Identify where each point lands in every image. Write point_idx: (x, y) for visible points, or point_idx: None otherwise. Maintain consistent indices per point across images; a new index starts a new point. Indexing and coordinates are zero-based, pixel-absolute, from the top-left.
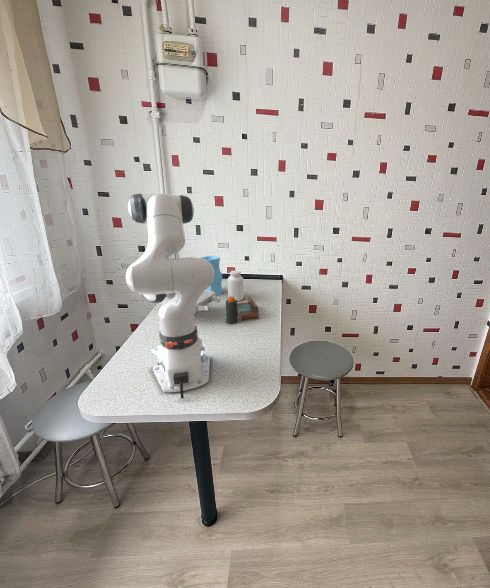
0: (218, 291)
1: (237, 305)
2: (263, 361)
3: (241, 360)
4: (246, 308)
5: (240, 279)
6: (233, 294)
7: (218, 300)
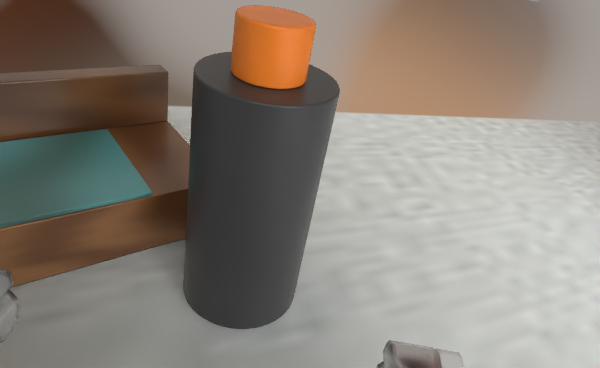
0: None
1: None
2: (558, 139)
3: None
4: (69, 158)
5: None
6: None
7: (6, 287)
